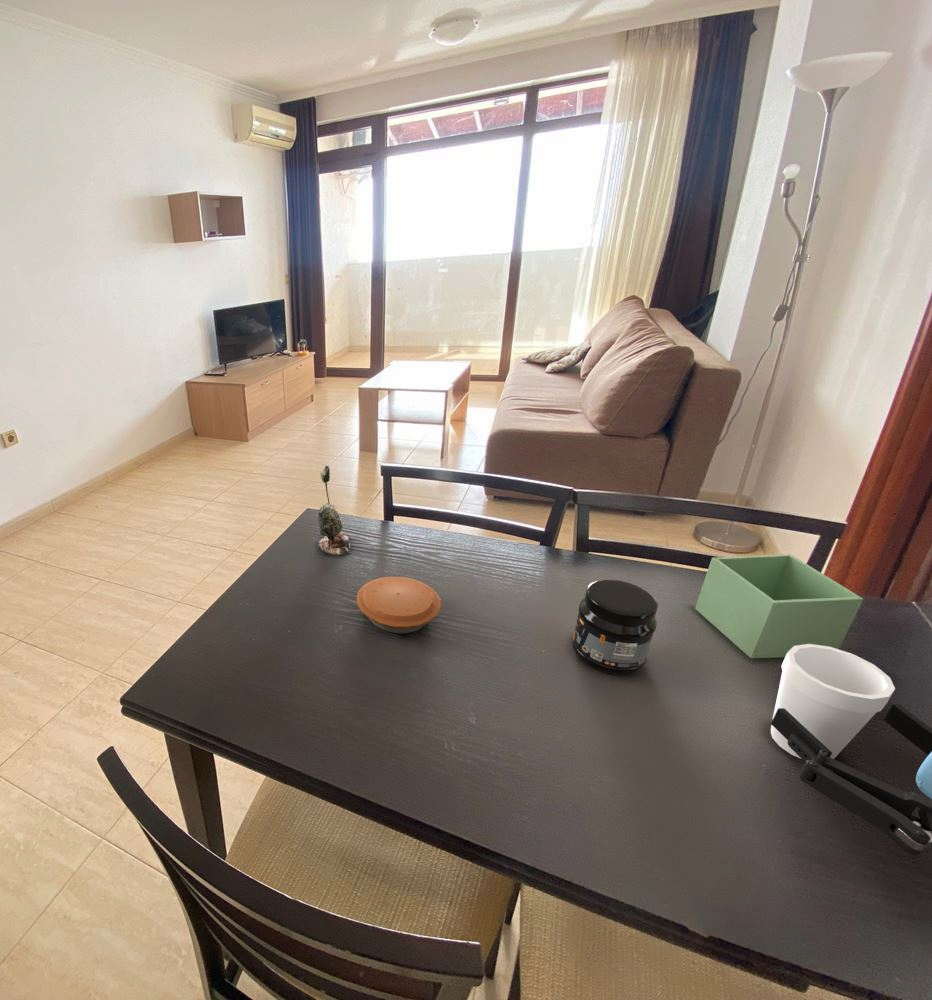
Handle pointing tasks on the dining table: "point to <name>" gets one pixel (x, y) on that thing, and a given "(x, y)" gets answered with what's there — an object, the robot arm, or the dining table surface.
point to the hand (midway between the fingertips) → (833, 713)
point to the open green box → (775, 604)
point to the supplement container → (615, 626)
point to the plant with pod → (331, 525)
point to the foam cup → (830, 694)
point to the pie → (398, 603)
